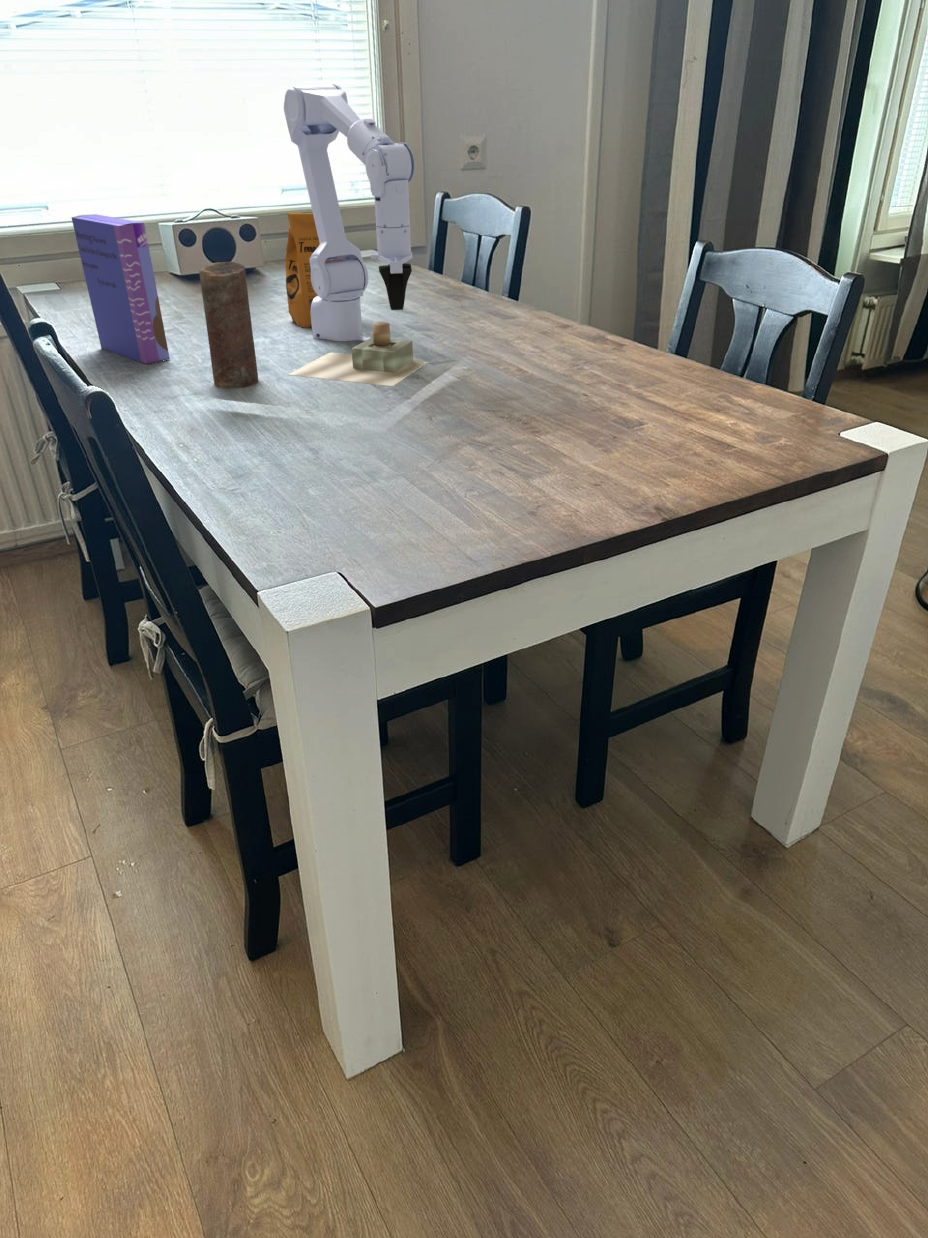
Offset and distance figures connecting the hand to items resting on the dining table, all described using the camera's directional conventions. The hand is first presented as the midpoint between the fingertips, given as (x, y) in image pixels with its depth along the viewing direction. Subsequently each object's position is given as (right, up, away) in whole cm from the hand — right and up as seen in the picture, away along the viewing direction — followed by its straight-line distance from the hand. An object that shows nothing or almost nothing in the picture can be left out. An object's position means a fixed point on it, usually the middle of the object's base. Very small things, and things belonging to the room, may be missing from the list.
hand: (397, 309), depth 153 cm
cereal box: (-52, -4, +15) cm, 54 cm away
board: (-7, -12, 0) cm, 14 cm away
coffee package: (-19, +10, +36) cm, 42 cm away
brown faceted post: (-27, -16, -6) cm, 32 cm away
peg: (-3, -9, +1) cm, 10 cm away
